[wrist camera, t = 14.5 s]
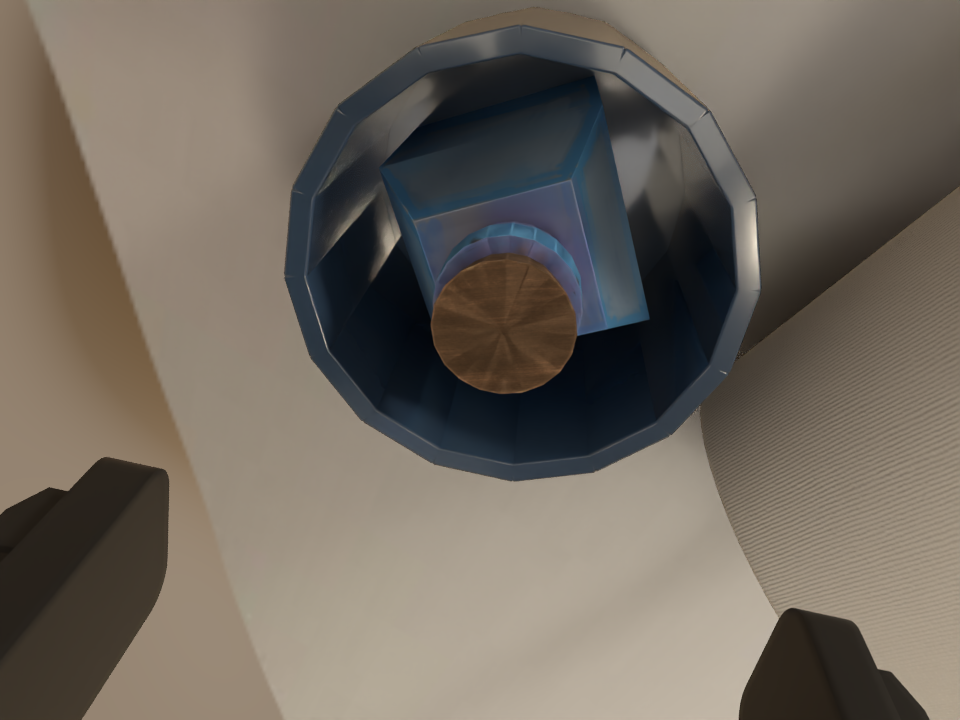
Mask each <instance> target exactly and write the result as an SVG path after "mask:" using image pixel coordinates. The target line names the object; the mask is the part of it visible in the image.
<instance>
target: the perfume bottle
mask: <svg viewBox="0 0 960 720" xmlns="http://www.w3.org/2000/svg"><path fill="white" fill-rule="evenodd" d="M379 170H380V173H381V176H382V179H383V182H384V185H385V187H386V190H387V193H388V196H389V199H390V202H391V205H392V208H393V211H394V214H395V217H396V219H397V222H398V225H399V228H400V231H401V234H402V237H403V240H404V243H405V246H406V248H407V251H408V254H409V257H410V260H411V263H412V266H413V269H414V272H415V275H416V278H417V280H418V283H419V286H420V289H421V292H422V295H423V298H424V301H425V304H426V307H427V310H428V312H429V315H430V318H431V331H432V336H433V342H434V346H435V348H436V350H437V352H438V354H439V356H440V357H441V359H442V361H443V363H444V365H445V366H446V367H447V368H449V369H450V370H451V371H452V372H453V373H454V374H455V375H456V376H457V377H458V378H459V379H460V380H462V381H464V382H466V383H468V384H470V385H471V386H473V387H475V388H477V389H479V390H484V391H488V392H493V393H498V394H509V393H523V392H525V391H528V390H531V389H534V388H536V387H539V386H542V385H544V384H545V383H546V382H548V381H549V380H550V379H552V378H553V377H554V376H555V375H557V374H558V373H559V372H560V371H561V370H562V368H563V367H564V365H565V364H566V363H567V361H568V360H569V358H570V357H571V355H572V352H573V349H574V345H575V341H576V337H577V336H579V335H583V334H587V333H592V332H596V331H601V330H605V329H610V328H614V327H619V326H623V325H628V324H632V323H636V322H641V321H645V320H650V318H649V313H648V308H647V304H646V299H645V295H644V290H643V286H642V281H641V277H640V272H639V268H638V263H637V259H636V254H635V249H634V245H633V240H632V236H631V231H630V227H629V222H628V218H627V213H626V209H625V204H624V200H623V195H622V190H621V186H620V181H619V177H618V172H617V168H616V163H615V159H614V154H613V150H612V145H611V141H610V136H609V131H608V127H607V122H606V118H605V113H604V109H603V104H602V101H601V97H600V93H599V90H598V86H597V82H596V79H595V76H591V77H588V78H585V79H581V80H578V81H574V82H571V83H568V84H564V85H561V86H557V87H554V88H550V89H547V90H544V91H540V92H537V93H533V94H530V95H527V96H523V97H520V98H516V99H513V100H510V101H506V102H503V103H499V104H496V105H492V106H489V107H486V108H482V109H479V110H475V111H472V112H469V113H465V114H462V115H458V116H455V117H452V118H448V119H445V120H441V121H438V122H434V123H431V124H428V125H424V126H421V127H417V128H416V129H415V130H414V131H413V132H412V133H411V134H410V135H409V136H408V138H407V139H406V140H405V141H404V142H403V143H402V144H401V145H400V146H399V147H398V148H397V149H396V150H395V151H394V152H393V153H392V154H391V156H390V157H389V158H388V159H387V160H386V161H385V162H384V163H383V164H382V165H381V166H380V167H379Z"/></svg>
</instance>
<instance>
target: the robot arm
mask: <svg viewBox="0 0 960 720" xmlns="http://www.w3.org/2000/svg"><path fill="white" fill-rule="evenodd" d="M168 511H169V478H168V474H167V472H166V471H165V470H164V469H160V468H155V467H151V466H146V465H141V464H137V463H132V462H127V461H123V460H119V459H114V458H109V457H104V458H101V459H100V460H98V461H97V462H96V463H95V464H94V465H93V466H92V467H91V468H90V469H89V470H88V471H87V472H86V473H85V474H84V475H83V476H82V477H81V479H79V481H78V482H77V483H76V484H75V485H74V486H73V487H72V488H71V489H70V490H69V491H63V490H59V489H54V488H50V487H49V488H47V489H45V490H43V491H41V492H39V493H37V494H35V495H33V496H31V497H29V498H27V499H25V500H23V501H21V502H19V503H18V504H16V505H14V506H12V507H10V508H8V509H6V510H5V511H4V512H3V513H2V514H1V515H0V720H82V718H83V716H84V715H85V713H86V712H87V710H88V709H89V707H90V706H91V704H92V703H93V701H94V699H95V698H96V696H97V694H98V693H99V692H100V690H101V689H102V687H103V685H104V684H105V682H106V681H107V679H108V678H109V676H110V675H111V673H112V671H113V670H114V668H115V667H116V665H117V664H118V662H119V661H120V659H121V657H122V656H123V654H124V653H125V651H126V650H127V648H128V647H129V645H130V643H131V642H132V640H133V639H134V637H135V636H136V634H137V632H138V631H139V629H140V628H141V626H142V625H143V623H144V622H145V620H146V619H147V617H148V616H149V614H150V612H151V611H152V608H153V607H154V605H155V603H156V601H157V599H158V596H159V594H160V591H161V588H162V585H163V582H164V578H165V574H166V568H167V556H168V555H167V554H168V553H167V552H168ZM739 720H930V719H929V717H928V715H927V713H926V711H925V710H924V709H923V708H922V706H921V705H920V704H919V703H918V702H917V701H916V700H915V698H914V697H913V696H912V695H911V694H910V693H909V692H908V690H907V689H906V688H905V687H904V686H903V685H902V684H901V682H900V681H899V680H898V679H897V678H896V677H895V676H894V674H893V673H892V672H890V671H885V670H881V669H877V666H876V664H875V662H874V660H873V658H872V655H871V653H870V651H869V649H868V647H867V645H866V642H865V640H864V638H863V636H862V634H861V632H860V630H859V628H858V627H857V625H856V624H855V623H854V622H852V621H851V620H848V619H843V618H838V617H834V616H829V615H825V614H820V613H815V612H811V611H806V610H802V609H797V608H789V609H787V610H786V611H784V612H783V614H782V615H781V617H780V618H779V620H778V622H777V624H776V626H775V628H774V630H773V632H772V634H771V636H770V638H769V640H768V642H767V644H766V646H765V648H764V650H763V652H762V654H761V656H760V658H759V661H758V663H757V665H756V667H755V669H754V671H753V673H752V675H751V677H750V679H749V681H748V683H747V685H746V687H745V689H744V692H743V695H742V699H741V703H740V710H739Z"/></svg>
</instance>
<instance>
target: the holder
mask: <svg viewBox="0 0 960 720" xmlns="http://www.w3.org/2000/svg"><path fill="white" fill-rule="evenodd" d="M591 76H595V79H596V82H597V86H598V90H599V93H600V97H601V101H602V104H603V109H604V113H605V118H606V122H607V127H608V131H609V136H610V141H611V145H612V150H613V154H614V159H615V163H616V168H617V172H618V177H619V181H620V186H621V190H622V195H623V200H624V204H625V209H626V213H627V218H628V222H629V227H630V231H631V236H632V240H633V245H634V249H635V254H636V259H637V263H638V268H639V272H640V277H641V281H642V286H643V290H644V295H645V299H646V304H647V308H648V313H649V318H650V320H645V321H641V322H636V323H632V324H628V325H623V326H619V327H614V328H610V329H605V330H601V331H596V332H592V333H587V334H583V335H579V336H577V337H576V341H575V345H574V349H573V352H572V355H571V357H570V358H569V360H568V361H567V363H566V364H565V365H564V367H563V368H562V370H561V371H560V372H559V373H558V374H557V375H555V376H554V377H553V378H552V379H550V380H549V381H548V382H546V383H545V384H544V385H542V386H539V387H536V388H534V389H531V390H528V391H525V392H523V393H509V394H498V393H493V392H488V391H484V390H479V389H477V388H475V387H473V386H471V385H470V384H468V383H466V382H464V381H462V380H460V379H459V378H458V377H457V376H456V375H455V374H454V373H453V372H452V371H451V370H450V369H449V368H447V367H446V366H445V365H444V363H443V361H442V359H441V357H440V356H439V354H438V352H437V350H436V348H435V346H434V342H433V336H432V331H431V318H430V315H429V312H428V310H427V307H426V304H425V301H424V298H423V295H422V292H421V289H420V286H419V283H418V280H417V278H416V275H415V272H414V269H413V266H412V263H411V260H410V257H409V254H408V251H407V248H406V246H405V243H404V240H403V237H402V234H401V231H400V228H399V225H398V222H397V219H396V217H395V214H394V211H393V208H392V205H391V202H390V199H389V196H388V193H387V190H386V187H385V185H384V182H383V179H382V176H381V173H380V170H379V167H380V166H381V165H382V164H383V163H384V162H385V161H386V160H387V159H388V158H389V157H390V156H391V154H392V153H393V152H394V151H395V150H396V149H397V148H398V147H399V146H400V145H401V144H402V143H403V142H404V141H405V140H406V139H407V138H408V136H409V135H410V134H411V133H412V132H413V131H414V130H415V129H416V128H417V127H421V126H424V125H428V124H431V123H434V122H438V121H441V120H445V119H448V118H452V117H455V116H458V115H462V114H465V113H469V112H472V111H475V110H479V109H482V108H486V107H489V106H492V105H496V104H499V103H503V102H506V101H510V100H513V99H516V98H520V97H523V96H527V95H530V94H533V93H537V92H540V91H544V90H547V89H550V88H554V87H557V86H561V85H564V84H568V83H571V82H574V81H578V80H581V79H585V78H588V77H591ZM755 197H756V195H755V193H754V191H753V189H752V187H751V185H750V183H749V182H748V180H747V178H746V176H745V174H744V172H743V170H742V169H741V167H740V165H739V163H738V161H737V159H736V157H735V155H734V154H733V152H732V150H731V148H730V146H729V144H728V142H727V140H726V139H725V137H724V135H723V133H722V131H721V129H720V127H719V125H718V124H717V122H716V120H715V118H714V116H713V114H712V112H711V111H710V110H709V109H708V108H707V107H706V106H705V105H704V104H703V103H702V102H701V101H700V100H699V99H698V98H697V97H696V96H695V95H694V94H693V93H692V92H691V91H690V90H689V89H688V88H687V87H686V86H685V85H684V84H682V83H681V82H680V81H679V80H678V79H677V78H676V77H675V76H674V75H673V74H672V73H671V72H670V71H669V70H668V69H667V68H666V67H665V66H664V65H663V64H662V63H660V62H659V61H658V60H656V59H655V58H654V57H652V56H651V55H650V54H648V53H647V52H646V51H644V50H643V49H642V48H640V47H639V46H638V45H637V44H636V43H634V42H633V41H632V40H630V39H629V38H627V37H626V36H625V35H623V34H622V33H621V32H619V31H618V30H617V29H615V28H614V27H613V26H611V25H610V24H609V23H606V22H605V21H600V20H595V19H591V18H586V17H583V16H579V15H576V14H573V13H568V12H561V11H554V10H549V9H545V8H540V7H530V8H526V9H521V10H517V11H512V12H505V13H500V14H496V15H493V16H489V17H484V18H480V19H475V20H470V21H466V22H464V23H462V24H460V25H458V26H456V27H454V28H452V29H450V30H448V31H446V32H444V33H442V34H440V35H438V36H436V37H434V38H432V39H430V40H429V41H427V42H425V43H423V44H421V45H419V46H417V47H415V48H414V49H412V50H411V51H410V52H408V53H407V54H406V55H404V56H403V57H402V58H400V59H399V60H397V61H396V62H395V63H393V64H392V65H391V66H389V67H388V68H387V69H385V70H384V71H383V72H381V73H380V74H379V75H377V76H376V77H375V78H373V79H372V80H370V81H369V82H368V83H366V84H365V85H364V86H362V87H361V88H360V89H358V90H357V91H356V92H354V93H353V94H352V95H350V96H349V97H348V98H346V99H345V100H343V101H342V102H341V103H339V104H338V107H336V108H335V110H334V112H333V113H332V115H331V117H330V119H329V121H328V122H327V124H326V126H325V128H324V130H323V131H322V133H321V135H320V137H319V139H318V140H317V142H316V144H315V146H314V148H313V150H312V151H311V153H310V155H309V157H308V159H307V160H306V162H305V164H304V166H303V168H302V169H301V171H300V173H299V175H298V177H297V179H296V180H295V182H294V184H293V189H292V190H291V199H290V210H289V222H288V234H287V246H286V257H285V269H284V275H285V281H286V284H287V288H288V291H289V294H290V297H291V300H292V303H293V306H294V309H295V312H296V315H297V318H298V322H299V325H300V328H301V331H302V334H303V337H304V340H305V343H306V346H307V349H308V352H309V355H310V356H311V359H312V360H313V362H314V363H315V364H316V365H317V367H318V368H319V369H320V370H321V372H322V373H323V374H324V375H325V376H326V378H327V379H328V380H329V381H330V383H331V384H332V385H333V386H334V388H335V389H336V390H337V391H338V392H339V394H340V395H341V396H342V397H343V399H344V400H345V401H346V402H347V404H348V405H349V406H350V407H351V408H352V410H353V411H354V412H355V413H356V415H357V416H358V417H359V418H360V420H361V421H364V423H366V424H368V425H369V426H371V427H373V428H374V429H376V430H378V431H379V432H381V433H382V434H384V435H386V436H387V437H389V438H391V439H392V440H394V441H396V442H397V443H399V444H401V445H402V446H404V447H406V448H407V449H409V450H411V451H412V452H414V453H416V454H417V455H419V456H420V457H422V458H424V459H425V460H427V461H429V462H430V463H433V464H434V465H439V466H443V467H448V468H453V469H457V470H462V471H466V472H471V473H475V474H480V475H485V476H489V477H494V478H498V479H503V480H508V481H524V480H533V479H542V478H551V477H560V476H568V475H577V474H586V473H594V472H595V471H599V470H601V469H603V468H605V467H607V466H609V465H611V464H613V463H615V462H617V461H619V460H621V459H623V458H626V457H628V456H630V455H632V454H634V453H636V452H638V451H640V450H642V449H644V448H646V447H648V446H650V445H652V444H655V443H657V442H659V441H661V440H663V439H665V438H667V437H669V436H670V435H672V434H673V433H674V432H675V431H676V430H677V429H678V428H679V427H680V426H681V425H682V423H683V422H684V421H685V420H686V419H687V418H688V417H689V416H690V415H691V414H692V413H693V412H694V411H695V410H696V409H697V408H698V407H699V406H700V404H701V403H702V402H703V401H704V400H705V399H706V398H707V397H708V396H709V395H710V394H711V393H712V392H713V391H714V390H715V389H716V388H717V387H718V386H719V384H720V383H721V382H722V381H723V380H724V379H725V378H726V377H727V376H728V375H729V373H730V372H731V369H732V367H733V364H734V361H735V359H736V356H737V354H738V351H739V348H740V346H741V343H742V341H743V338H744V335H745V333H746V330H747V328H748V325H749V322H750V320H751V317H752V315H753V312H754V309H755V307H756V304H757V302H758V299H759V296H760V294H761V288H762V285H761V267H760V248H759V230H758V212H757V199H756V198H755Z"/></svg>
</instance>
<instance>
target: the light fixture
mask: <svg viewBox="0 0 960 720" xmlns="http://www.w3.org/2000/svg"><path fill="white" fill-rule="evenodd" d="M700 415H701V428H702V433H703V439H704V445H705V449H706V453H707V457H708V460H709V464H710V468H711V471H712V474H713V477H714V480H715V483H716V487H717V490H718V492H719V495H720V498H721V500H722V503H723V506H724V508H725V511H726V514H727V516H728V518H729V521H730V523H731V525H732V528H733V530H734V532H735V535H736V537H737V539H738V542H739V544H740V546H741V548H742V550H743V552H744V554H745V556H746V558H747V560H748V562H749V564H750V566H751V568H752V570H753V572H754V574H755V576H756V578H757V580H758V582H759V584H760V585H761V587H762V589H763V591H764V593H765V595H766V596H767V598H768V600H769V602H770V604H771V605H772V607H773V609H774V610H775V612H776V614H777V615H778V617H779V618H780V617H781V615H782V614H783V612H784V611H786V610H787V609H789V608H797V609H802V610H806V611H811V612H815V613H820V614H825V615H829V616H834V617H838V618H843V619H848V620H851V621H852V622H854V623H855V624H856V625H857V627H858V628H859V630H860V632H861V634H862V636H863V638H864V640H865V642H866V645H867V647H868V649H869V651H870V653H871V655H872V658H873V660H874V662H875V664H876V666H877V669H881V670H885V671H890V672H892V673H893V674H894V676H895V677H896V678H897V679H898V680H899V681H900V682H901V684H902V685H903V686H904V687H905V688H906V689H907V690H908V692H909V693H910V694H911V695H912V696H913V697H914V698H915V700H916V701H917V702H918V703H919V704H920V705H921V706H922V708H923V709H924V710H925V711H926V713H927V715H928V717H929V719H930V720H960V186H959V187H958V188H956V189H955V190H954V191H953V192H951V193H950V194H949V195H947V196H946V197H945V198H944V199H942V200H941V201H940V202H938V203H937V204H936V205H935V206H933V207H932V208H931V209H929V210H928V211H927V212H926V213H924V214H923V215H922V216H921V217H919V218H918V219H917V220H915V221H914V222H913V223H912V224H910V225H909V226H908V227H906V228H905V229H904V230H903V231H901V232H900V233H899V234H898V235H896V236H895V237H894V238H892V239H891V240H890V241H889V242H887V243H886V244H885V245H883V246H882V247H881V248H880V249H878V250H877V251H876V252H875V253H873V254H872V255H871V256H869V257H868V258H867V259H866V260H864V261H863V262H862V263H860V264H859V265H858V266H857V267H855V268H854V269H853V270H852V271H850V272H849V273H848V274H846V275H845V276H844V277H843V278H841V279H840V280H839V281H837V282H836V283H835V284H834V285H832V286H831V287H830V288H828V289H827V290H826V291H825V292H823V293H822V294H821V295H820V296H818V297H817V298H816V299H814V300H813V301H812V302H811V303H809V304H808V305H807V306H805V307H804V308H803V309H802V310H800V311H799V312H798V313H797V314H795V315H794V316H793V317H791V318H790V319H789V320H788V321H786V322H785V323H784V324H782V325H781V326H780V327H779V328H777V329H776V330H775V331H774V332H772V333H771V334H770V335H768V336H767V337H766V338H765V339H763V340H762V341H761V342H760V343H758V344H757V345H756V346H754V347H753V348H752V349H751V350H749V351H748V352H747V353H746V354H744V355H743V356H742V357H741V358H739V359H738V360H737V361H735V362H734V364H733V367H732V369H731V372H730V373H729V375H728V376H727V377H726V378H725V379H724V380H723V381H722V382H721V383H720V384H719V386H718V387H717V388H716V389H715V390H714V391H713V392H712V393H711V394H710V395H709V396H708V397H707V398H706V399H705V400H704V401H703V402H702V403H701V410H700Z"/></svg>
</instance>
